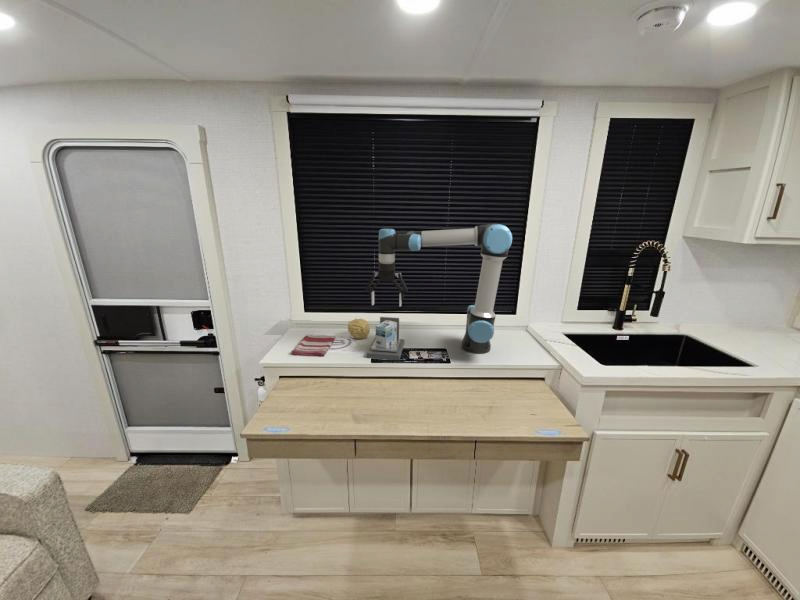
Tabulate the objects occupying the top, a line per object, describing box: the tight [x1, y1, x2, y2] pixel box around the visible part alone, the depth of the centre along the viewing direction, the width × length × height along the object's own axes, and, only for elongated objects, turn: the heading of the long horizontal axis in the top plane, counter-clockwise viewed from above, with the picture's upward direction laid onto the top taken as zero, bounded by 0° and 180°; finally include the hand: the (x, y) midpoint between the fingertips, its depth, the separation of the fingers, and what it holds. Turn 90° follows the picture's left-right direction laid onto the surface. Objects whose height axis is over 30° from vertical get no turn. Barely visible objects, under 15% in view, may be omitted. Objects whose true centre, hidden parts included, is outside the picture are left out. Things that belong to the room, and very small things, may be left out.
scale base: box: [366, 316, 405, 361], centre depth 166 cm, size 16×20×14 cm
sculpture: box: [347, 318, 371, 340], centre depth 183 cm, size 12×12×11 cm
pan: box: [371, 338, 401, 352], centre depth 166 cm, size 13×13×2 cm
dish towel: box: [290, 334, 337, 358], centre depth 171 cm, size 17×23×3 cm
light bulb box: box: [375, 320, 397, 348], centre depth 164 cm, size 11×7×11 cm, turn 151°
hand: (386, 305), depth 160 cm, fingers open, 13 cm apart
